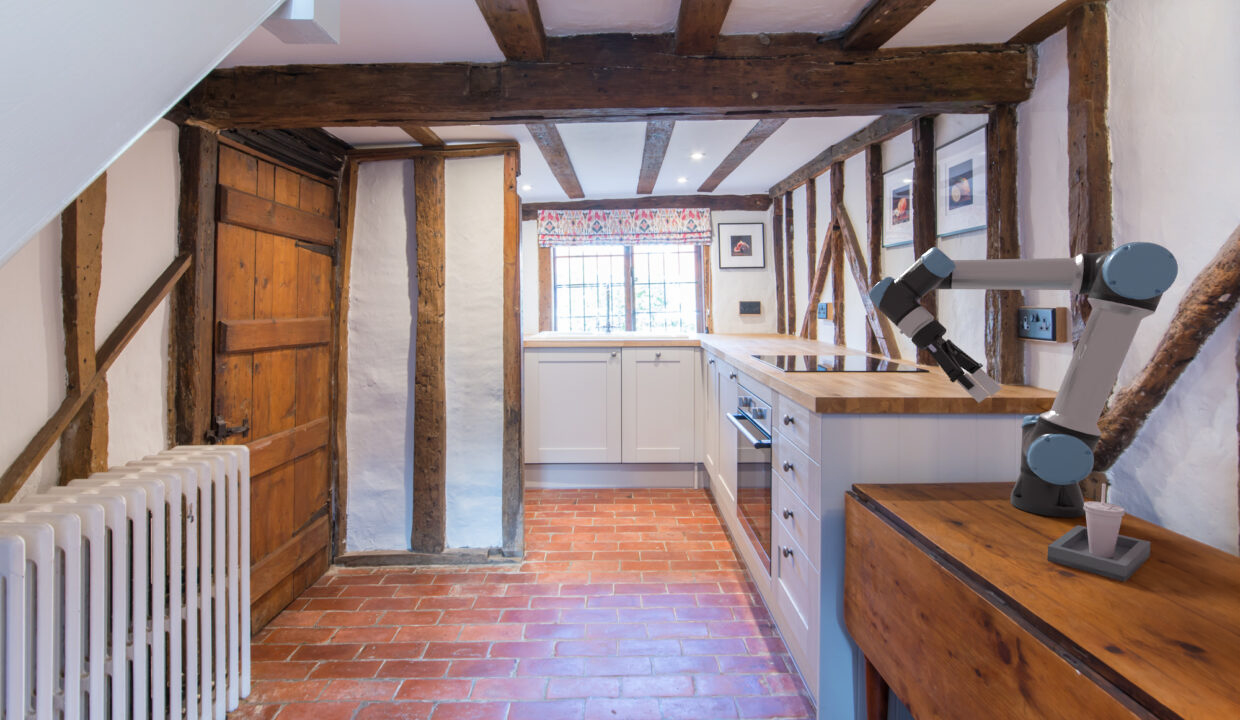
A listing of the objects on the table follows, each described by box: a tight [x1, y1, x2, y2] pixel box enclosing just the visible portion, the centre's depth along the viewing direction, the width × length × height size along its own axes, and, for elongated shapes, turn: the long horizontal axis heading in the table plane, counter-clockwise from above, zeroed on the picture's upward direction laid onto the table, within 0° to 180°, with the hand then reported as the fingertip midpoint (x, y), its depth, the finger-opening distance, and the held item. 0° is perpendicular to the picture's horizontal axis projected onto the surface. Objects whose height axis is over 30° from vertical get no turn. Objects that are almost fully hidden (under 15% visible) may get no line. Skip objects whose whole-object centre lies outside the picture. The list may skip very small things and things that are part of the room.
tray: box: [1046, 524, 1152, 583], centre depth 119 cm, size 18×12×3 cm, turn 128°
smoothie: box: [1083, 483, 1126, 558], centre depth 118 cm, size 6×6×14 cm
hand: (990, 395), depth 137 cm, fingers open, 13 cm apart
